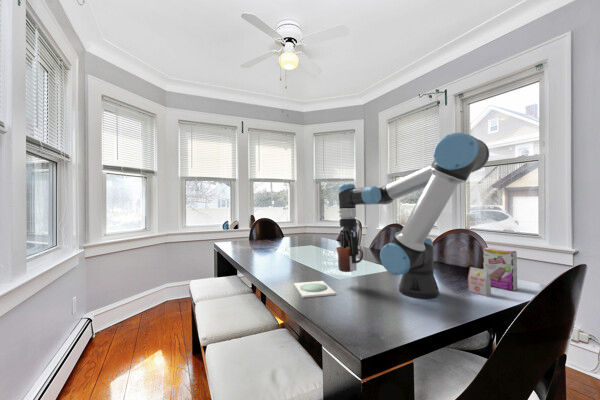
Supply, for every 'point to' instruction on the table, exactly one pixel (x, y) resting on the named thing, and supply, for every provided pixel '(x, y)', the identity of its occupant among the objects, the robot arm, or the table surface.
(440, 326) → the table surface
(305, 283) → the card
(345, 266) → the mug
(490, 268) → the candy bar box
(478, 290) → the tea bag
